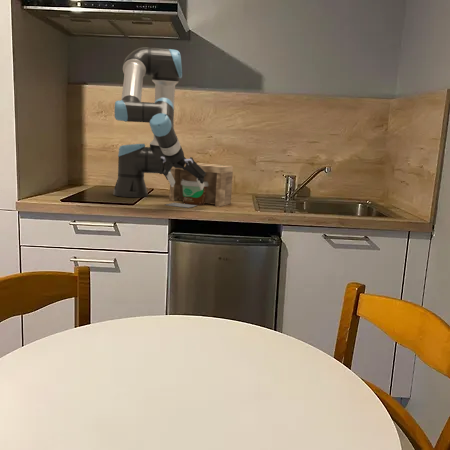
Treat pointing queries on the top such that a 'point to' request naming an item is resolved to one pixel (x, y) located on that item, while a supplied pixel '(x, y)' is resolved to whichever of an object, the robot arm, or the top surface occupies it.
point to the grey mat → (181, 205)
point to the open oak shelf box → (216, 178)
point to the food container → (193, 192)
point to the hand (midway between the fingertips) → (187, 186)
